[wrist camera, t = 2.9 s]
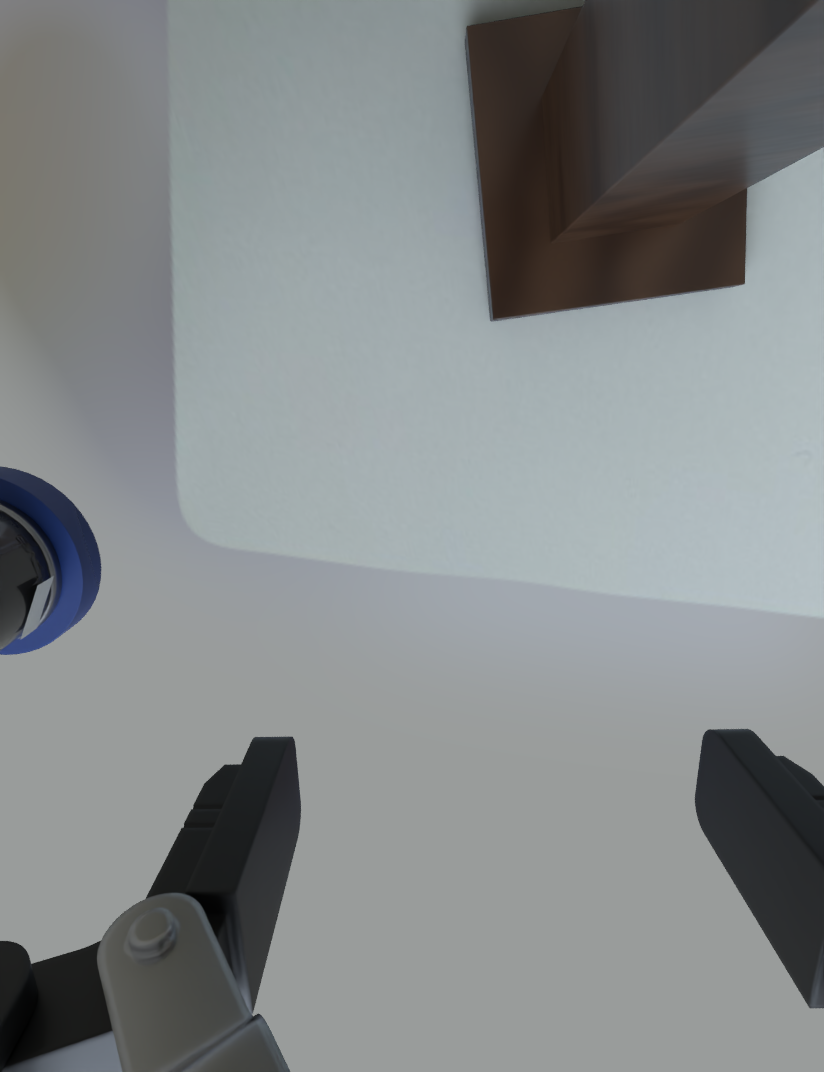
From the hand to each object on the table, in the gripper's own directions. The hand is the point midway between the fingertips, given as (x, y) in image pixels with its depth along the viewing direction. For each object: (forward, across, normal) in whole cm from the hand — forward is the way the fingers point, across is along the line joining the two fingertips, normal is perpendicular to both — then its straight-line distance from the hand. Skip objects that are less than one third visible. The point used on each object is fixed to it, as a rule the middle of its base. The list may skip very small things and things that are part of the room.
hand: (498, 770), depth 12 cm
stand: (+22, +8, +16) cm, 28 cm away
